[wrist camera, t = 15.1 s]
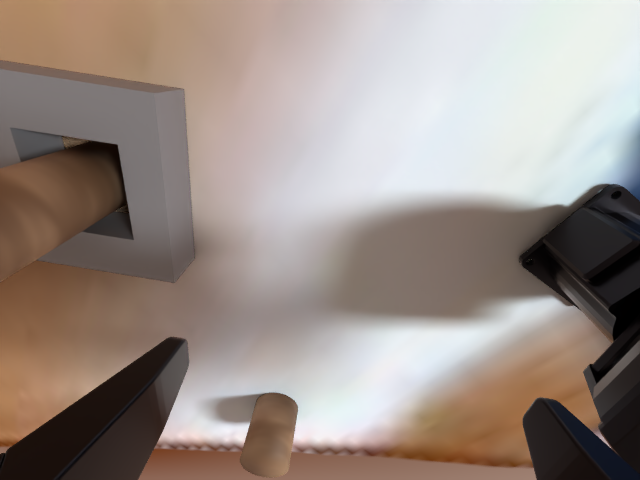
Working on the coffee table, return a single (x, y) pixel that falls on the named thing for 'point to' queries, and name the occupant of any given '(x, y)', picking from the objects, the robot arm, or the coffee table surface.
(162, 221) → the pin board
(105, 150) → the tall pin
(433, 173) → the coffee table surface
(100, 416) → the robot arm
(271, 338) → the coffee table surface
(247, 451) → the short pin
